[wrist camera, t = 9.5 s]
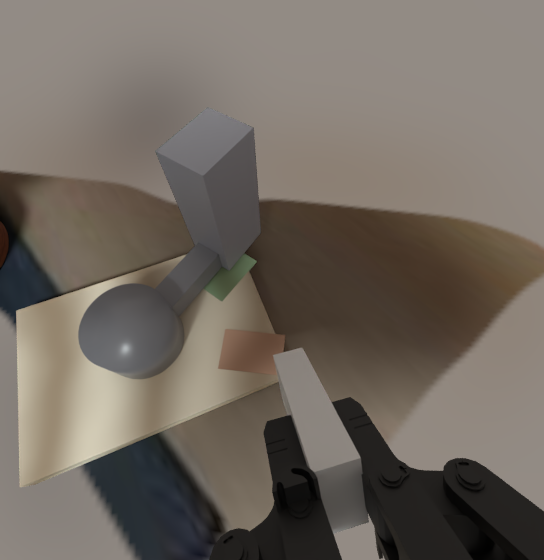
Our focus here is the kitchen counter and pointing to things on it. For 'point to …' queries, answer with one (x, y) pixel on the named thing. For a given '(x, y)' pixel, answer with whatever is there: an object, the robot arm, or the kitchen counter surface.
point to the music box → (3, 243)
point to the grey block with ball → (198, 262)
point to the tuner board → (135, 392)
